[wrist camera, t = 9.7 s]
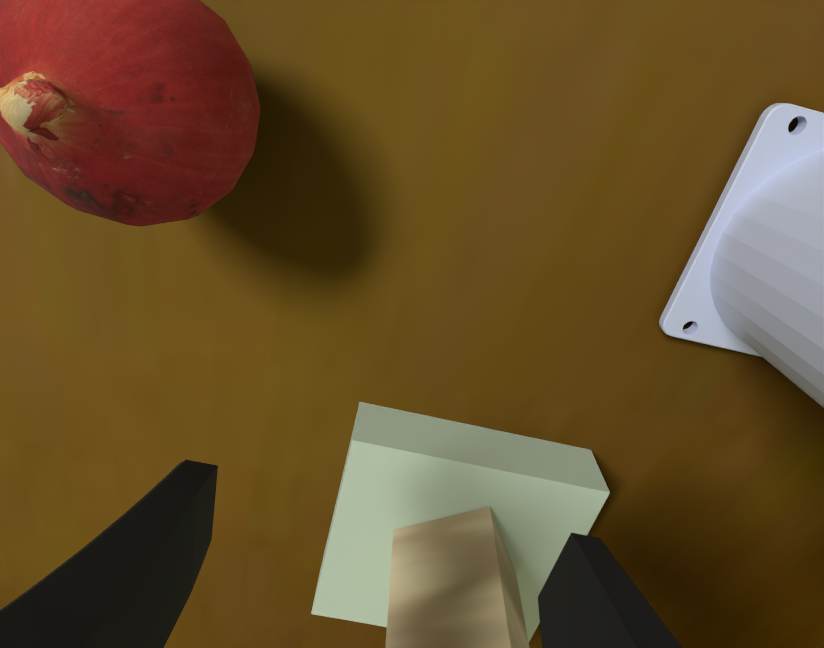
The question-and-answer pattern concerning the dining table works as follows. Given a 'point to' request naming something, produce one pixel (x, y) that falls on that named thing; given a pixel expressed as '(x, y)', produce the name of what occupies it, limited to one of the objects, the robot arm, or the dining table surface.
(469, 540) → the beech block
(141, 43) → the onion
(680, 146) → the dining table surface
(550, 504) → the stacking block
